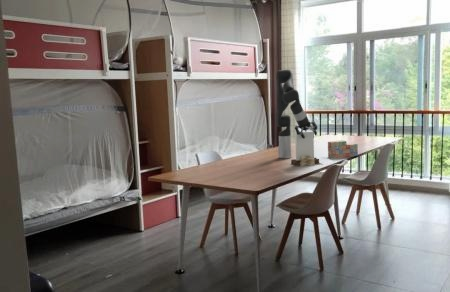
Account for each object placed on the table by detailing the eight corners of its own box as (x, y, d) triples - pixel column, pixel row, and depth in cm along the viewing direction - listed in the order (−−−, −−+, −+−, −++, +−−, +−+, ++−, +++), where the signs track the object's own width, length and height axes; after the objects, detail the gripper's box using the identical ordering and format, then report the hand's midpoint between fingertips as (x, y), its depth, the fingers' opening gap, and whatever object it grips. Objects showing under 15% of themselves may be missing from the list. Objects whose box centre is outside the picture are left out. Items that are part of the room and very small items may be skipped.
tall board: (297, 164, 299) (296, 132, 296) (296, 163, 302) (295, 132, 299) (314, 163, 301) (313, 131, 298) (312, 162, 304) (311, 131, 301)
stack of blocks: (353, 155, 335) (353, 139, 334) (357, 156, 329) (357, 140, 328) (328, 157, 331) (327, 141, 330) (331, 158, 325) (331, 142, 324)
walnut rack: (295, 168, 292) (294, 162, 291) (289, 166, 304) (289, 159, 303) (323, 166, 295) (323, 160, 294) (317, 163, 307) (317, 157, 306)
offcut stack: (302, 166, 293) (301, 157, 292) (299, 164, 297) (299, 156, 297) (314, 165, 294) (314, 156, 293) (312, 163, 299) (312, 155, 298)
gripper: (311, 111, 287) (320, 130, 294) (291, 116, 294) (301, 135, 301) (310, 117, 281) (319, 137, 288) (289, 123, 288) (299, 142, 295)
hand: (310, 136), depth 294 cm, fingers open, 8 cm apart
